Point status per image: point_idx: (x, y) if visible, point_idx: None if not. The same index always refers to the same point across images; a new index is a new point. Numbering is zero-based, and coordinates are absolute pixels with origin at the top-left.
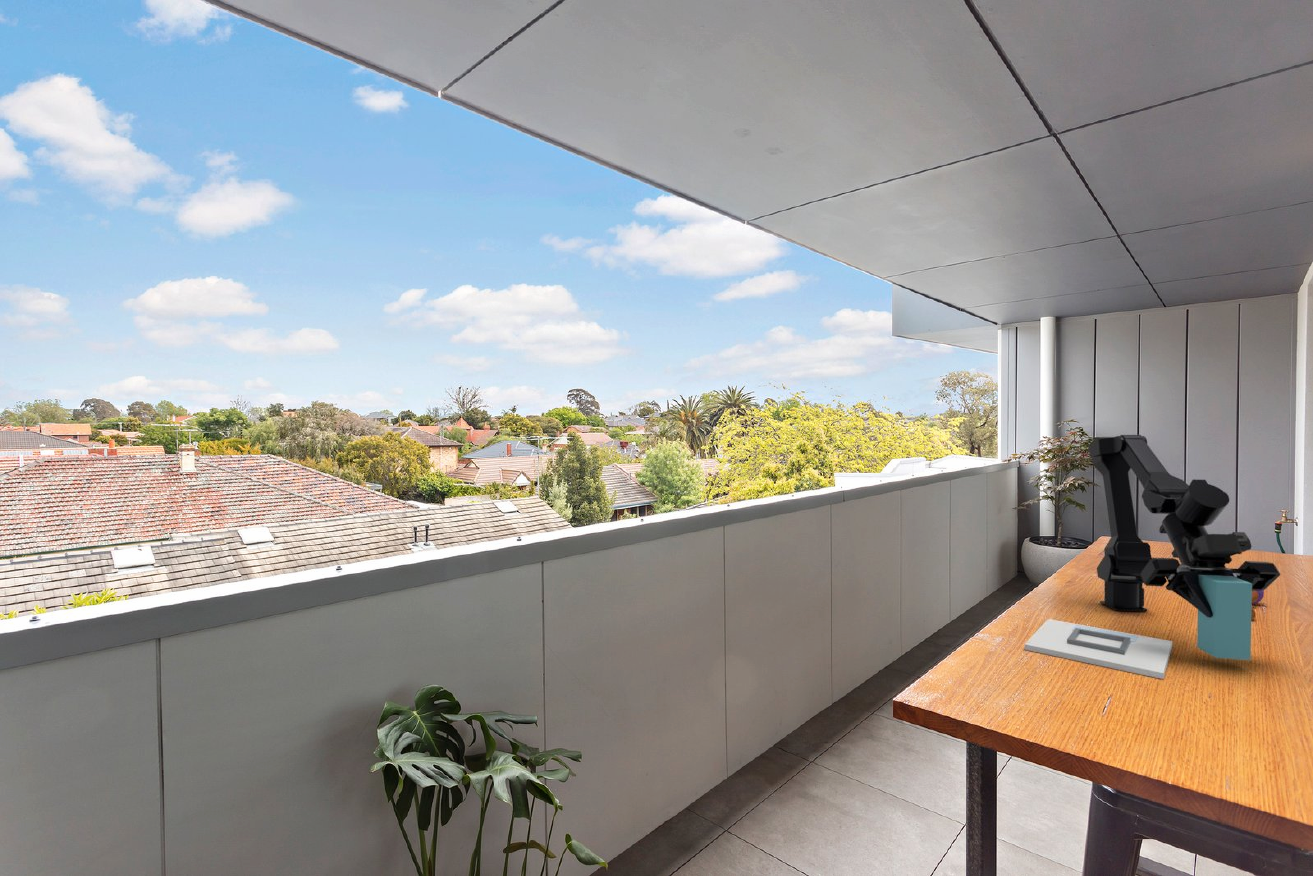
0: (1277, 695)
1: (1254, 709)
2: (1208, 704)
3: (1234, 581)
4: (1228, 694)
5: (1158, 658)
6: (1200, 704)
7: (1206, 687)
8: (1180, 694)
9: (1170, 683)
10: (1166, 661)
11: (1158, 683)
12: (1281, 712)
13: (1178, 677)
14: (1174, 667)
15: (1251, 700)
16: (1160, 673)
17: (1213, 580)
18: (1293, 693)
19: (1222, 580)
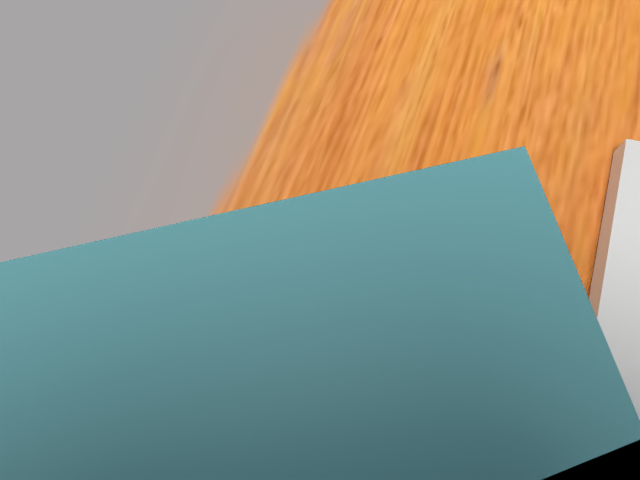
0: (300, 161)
1: (405, 33)
2: (512, 14)
3: (60, 401)
4: (437, 108)
5: (634, 319)
6: (533, 5)
7: (486, 139)
8: (575, 49)
9: (593, 126)
10: (603, 290)
11: (632, 109)
12: (346, 43)
13: (559, 197)
14: None
15: (389, 90)
16: (635, 142)
17: (577, 303)
18: (246, 198)
19: (319, 421)
